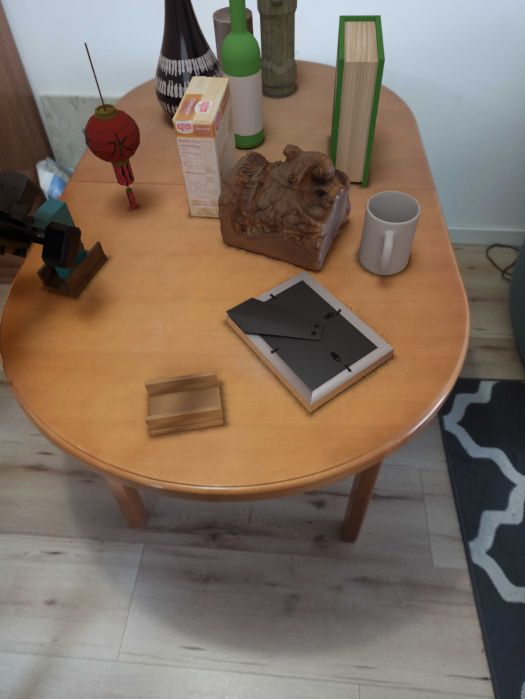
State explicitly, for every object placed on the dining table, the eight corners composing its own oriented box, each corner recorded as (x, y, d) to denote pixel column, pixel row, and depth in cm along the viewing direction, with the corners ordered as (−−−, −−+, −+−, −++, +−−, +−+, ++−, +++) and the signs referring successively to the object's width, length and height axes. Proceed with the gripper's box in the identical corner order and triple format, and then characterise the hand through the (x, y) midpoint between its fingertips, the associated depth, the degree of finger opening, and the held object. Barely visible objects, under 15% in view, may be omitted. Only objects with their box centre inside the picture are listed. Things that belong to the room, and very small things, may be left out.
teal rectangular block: (74, 282, 87) (46, 221, 76) (59, 277, 87) (30, 216, 77) (90, 262, 89) (65, 201, 79) (76, 258, 90) (49, 197, 80)
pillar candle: (259, 66, 134) (257, 0, 122) (249, 83, 128) (245, 16, 116) (225, 62, 136) (219, -2, 124) (213, 80, 130) (205, 14, 118)
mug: (360, 239, 91) (368, 187, 83) (409, 244, 90) (422, 192, 81) (353, 287, 84) (361, 236, 76) (406, 293, 83) (419, 242, 74)
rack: (76, 297, 86) (68, 281, 82) (44, 288, 87) (35, 272, 84) (107, 259, 91) (101, 242, 88) (76, 251, 93) (69, 234, 90)
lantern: (164, 214, 98) (123, 48, 74) (116, 229, 96) (59, 62, 72) (150, 188, 103) (108, 25, 79) (105, 201, 101) (48, 38, 77)
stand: (151, 435, 69) (144, 421, 66) (150, 395, 73) (144, 380, 70) (223, 424, 70) (220, 410, 67) (219, 385, 74) (216, 369, 71)
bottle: (241, 128, 116) (229, -29, 92) (270, 136, 113) (266, -23, 89) (222, 144, 112) (204, -15, 88) (252, 154, 109) (242, -8, 85)
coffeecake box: (206, 171, 106) (191, 75, 91) (239, 172, 105) (230, 76, 90) (189, 216, 97) (170, 119, 82) (225, 219, 97) (213, 120, 81)
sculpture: (311, 279, 82) (205, 244, 87) (340, 266, 98) (249, 237, 104) (345, 156, 75) (226, 128, 81) (370, 164, 91) (270, 140, 97)
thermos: (263, 102, 122) (255, -83, 94) (258, 79, 129) (250, -100, 102) (299, 99, 123) (302, -87, 95) (292, 76, 130) (293, -104, 102)
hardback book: (366, 186, 101) (384, 59, 82) (329, 186, 101) (338, 59, 82) (364, 138, 111) (380, 15, 92) (330, 137, 112) (339, 15, 93)
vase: (162, 103, 124) (132, -44, 101) (226, 97, 125) (212, -50, 101) (161, 138, 115) (128, -15, 91) (230, 132, 115) (216, -22, 91)
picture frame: (227, 323, 81) (310, 413, 70) (225, 311, 79) (310, 402, 68) (304, 279, 86) (391, 357, 76) (304, 267, 84) (395, 345, 73)
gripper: (48, 180, 64) (116, 202, 79) (-66, 155, 69) (19, 180, 83) (35, 267, 66) (104, 272, 81) (-75, 237, 70) (9, 247, 85)
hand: (58, 241), depth 83 cm, fingers open, 9 cm apart
